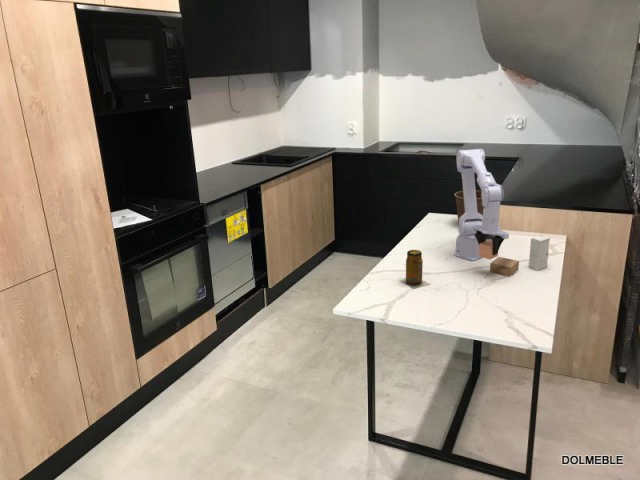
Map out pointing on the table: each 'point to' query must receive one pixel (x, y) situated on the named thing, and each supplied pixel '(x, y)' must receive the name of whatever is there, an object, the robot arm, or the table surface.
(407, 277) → the condiment
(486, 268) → the table surface
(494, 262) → the walnut block
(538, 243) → the skincare box
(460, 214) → the plant pot
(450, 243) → the table surface
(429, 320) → the table surface
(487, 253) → the terracotta cube
